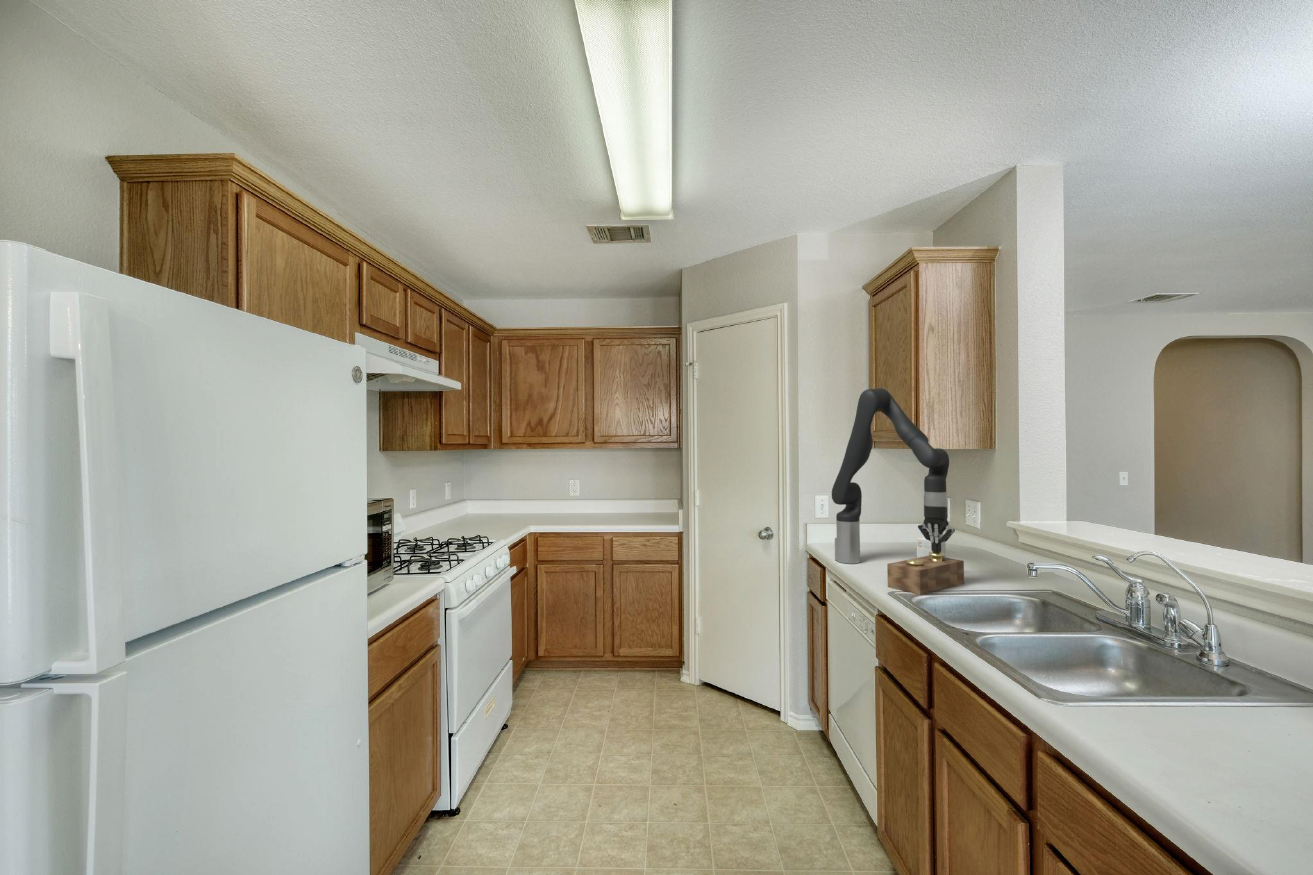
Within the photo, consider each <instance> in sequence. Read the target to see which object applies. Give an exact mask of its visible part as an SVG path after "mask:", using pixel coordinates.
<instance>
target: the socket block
mask: <svg viewBox="0 0 1313 875" xmlns="http://www.w3.org/2000/svg"><path fill="white" fill-rule="evenodd" d="M907 560H920V561H923V565H920V566H918V567H916V566H911V565H909V564H907ZM964 564H965V562H964V560H960V559H955V558H951V557H946V558H945V557H942V561H941V562H937V561H932V560H931V556H924V557H919V558H917V557H915V558H914V557H913V558H910V559H905V560H904V559H903V560H901V561H895V562H891V563H887V564H886V565H887V572H886V573H887V588H891V589H895V590H898V591H903V592H906V593H911V594H915V595H919V596H921V595H926V594H930V593H933V592H936V591H941V590H944V589H945V590H946V589H947V588H948V589H949V588H952V587H955V586H960V585H963V584H965V571H964V570H965V567H964V566H965V565H964Z"/></svg>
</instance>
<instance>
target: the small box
mask: <svg viewBox="0 0 1313 875" xmlns="http://www.w3.org/2000/svg"><path fill="white" fill-rule="evenodd" d="M946 545H947V544H946V542H942V543H941V553H944V557H945V558H947V554H946V553H947V552H946V550H947V549H946V547H947V546H946ZM929 552H933V551H932V550H931V541H929V540H926V539H925V537H924V536H923V537H918V538H916V558H919V557H924V556H929Z"/></svg>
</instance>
